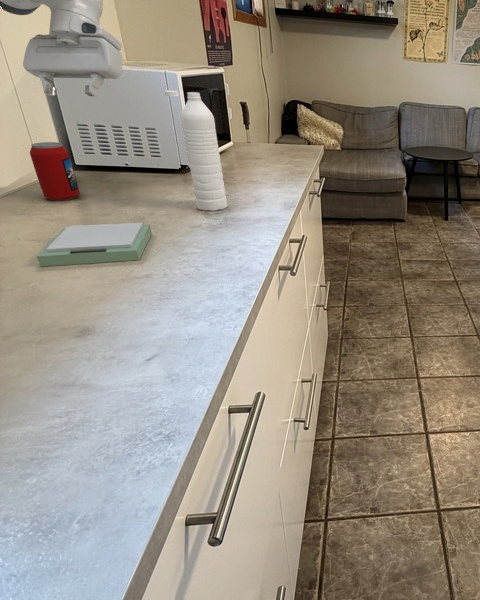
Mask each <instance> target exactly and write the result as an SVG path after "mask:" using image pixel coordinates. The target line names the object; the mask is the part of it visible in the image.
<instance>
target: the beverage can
mask: <svg viewBox="0 0 480 600" xmlns="http://www.w3.org/2000/svg"><path fill="white" fill-rule="evenodd" d="M29 155H30V159H31V162H32V165H33V168H34V171H35V174H36V178H37V180H38V183H39V186H40V189H41V193H42V195H43V197H44V198H47V199H49V200H50V201H69V200H73V199H75V198H77V196H79V195H80V194H81V192H80V188H79V184H78V181H77V176H76V173H75V170H74V168H73V163H72V159H71V157H70V154H69V150H68V149H66V148H65V146H64V145H63V143H61V142H55V141H43V142H35V143H32V144H31V147H30V150H29Z"/></svg>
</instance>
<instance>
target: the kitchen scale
mask: <svg viewBox="0 0 480 600" xmlns="http://www.w3.org/2000/svg"><path fill="white" fill-rule="evenodd" d="M152 235H153V232H152V228H151V225H150V224H144V222H128V223H104V224H103V223H101V224H82V225H67V227H65V228H62V229H61V230H60V231H59V232H58V234H56V236H54V238H53V239H51V241H50V242H49V243H48V244H47V245H46V246H45V247H44V248H43V249H42V250H41V251H40V252H39V253H38V254H37V255H36V258H37V261H38V264H39V267H43V268H44V267H54V266H55V267H56V266H57V267H58V266H70V265H72V266H73V265H85V264H86V265H87V264H103V263H117V262H130V261H131V262H132V261H139V260H140V259H141V257H142V255H143V253H144V252H145V249H146V247H147V244H148V242H149V240H150V238H151V236H152Z"/></svg>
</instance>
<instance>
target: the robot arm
mask: <svg viewBox="0 0 480 600" xmlns="http://www.w3.org/2000/svg"><path fill="white" fill-rule="evenodd" d="M42 5H44V6H46V7H48V8H49V10H50V20H49V21H50V22H49V34H35V36H34V37H33V36H32V37H31V38H30V39H29V41H28V43H27V45H26V48H25V51H24V55H23V60H22V66H23V68H24V70H25V71H26V72H27V73H29V74H31V75H32V76H34V77H36V78H39V79H40V81H41V83H42V84H43V85H42V86H43V93H44V94H45V95H47V96H49V97H51V96H57V94H58V93H57V92H58V88H56V87H54V86H53V84H52V83H53V82H54V79H91V80H90V82H89V84H87V85H86V84H85V85H84V93H85V95H87V96H89V97H97V96H98V91H99V89H100V88H101V86H102V85H103V84H104V80H105V79H111V80H112V79H114V80H117V79H118V78H119V77H120V76H122V73H123V56H122V53H121V52H120V51H121V50H122V46H123V45H122V43H121V42H120V41H119V39H117V38H116V37H115V36H114V35H113V34H112V33H110V32H109V31H108V30H107V29H105V28H104V27H102V26H101V24H100V20H101V17H102V14H103V6H104V0H0V6H1V7H2V9H3V11H5V12H7V13H9V14H12V15H17V16H28V15H30V14H33V13H34V12H35V11H36V10H37V9H38V8H39V7H41V6H42ZM2 9H1V10H2Z"/></svg>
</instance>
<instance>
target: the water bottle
mask: <svg viewBox="0 0 480 600" xmlns="http://www.w3.org/2000/svg"><path fill="white" fill-rule="evenodd" d="M164 96H166V97H179V96H180V95H179V91H178V90H169V89H168V90H164ZM214 117H215V116H214V115H213V113H212V112H211V110H210V109H209V108H208V107H207V105H206V104H205V103H204V102H203V100H202V96H201V93H200V92H195V91H191V92H190V91H188V92H187V101H186V103H185V105H184V107H183V109H182V110H181V113H180V121H181V125H182V131H183V136H184V143H185V147H186V151H187V152H186V153H187V160H188V162H189V170H190V172H191V173H190V176H191V178H192V179H191V181H192V187H193V192H194V196H195V204H196V208H197V209H198V210H201V211H204V212H208V211H210V212H215V211H218V210H219V211H221V210H225V209H226V208H227V207H228V199H227V196H226V189H225V182H224V174H223V172H222V171H223V169H222V163H221V153H220V151H219V150H220V149H219V144H218V141H219V140H218V136H217V129H216V122H215V121H216V120H215V118H214Z"/></svg>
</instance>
